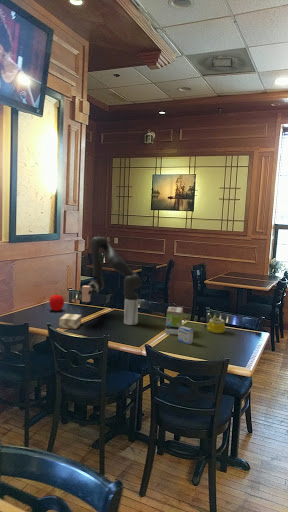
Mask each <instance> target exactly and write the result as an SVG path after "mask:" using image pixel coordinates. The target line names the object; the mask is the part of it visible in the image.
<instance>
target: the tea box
mask: <svg viewBox="0 0 288 512" xmlns="http://www.w3.org/2000/svg"><path fill="white" fill-rule="evenodd" d="M183 314H184V308H183V307H181V306H180V307H178V306H168V308H167V310H166V316H165V317H166V320H165V330H164V331H165V334H166V335H178V332H179V327H181V326H183V317H184V316H183Z"/></svg>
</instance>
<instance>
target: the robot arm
mask: <svg viewBox="0 0 288 512" xmlns="http://www.w3.org/2000/svg"><path fill="white" fill-rule="evenodd" d="M90 247H91V248H90V249H91V256H92V276H93V277H94V278H97V279H92V280H90V282H89V283H88V284H87V285H85V286H91V290H90V291H89V292H88V295H90V296H91V295H96V294H99V290H100V291H102V290H103V289H105V282H104V277H103V264H102V260H101V258H100V255H99V250H102V251H103V252H104V253H105V254H106V257H107V262H108V264H109V265H110V266H111V268H112V269H113V270H114V271H115V272H117V273H119V274H121V275H123V276H124V277H125V278H124V280H123V295H124V308H123V310H124V311H123V324H124V325H128V326H133V325H134V326H135V325H138V321H139V320H138V319H139V318H138V317H139V309H138V308H139V294H137V293H135V289H138V288H140V287H141V286H142V279H141V278H140V276H139V275H138V274H137V273H136V272H135V271H133V270H132V268H130V266H129V265H128V264H127V263H126V262H125V261H124V259H123V258H122V257H121V256H120V255H119V254H118V252H117V251H115V249H114V248H113V247H112V245H111V243H110V242H109V241H108V239H107V238H106V237H104V236H94V237H92V239H91V240H90ZM78 292H79V294H80V295H82V287H79V288H78Z"/></svg>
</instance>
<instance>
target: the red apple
mask: <svg viewBox="0 0 288 512" xmlns="http://www.w3.org/2000/svg"><path fill="white" fill-rule="evenodd" d="M48 302H49V306H50V309H51V310H52V311H55V312H58V311H61V310H62V309H63V308H64V304H65V300H64V297H63V296H62V295H61V294H58V293H56V294H53V295H52V294H51V296H50V298H49V301H48Z"/></svg>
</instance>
